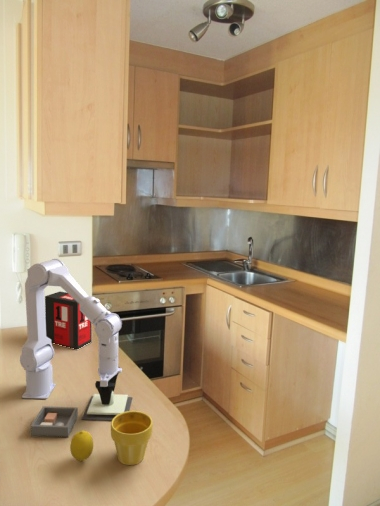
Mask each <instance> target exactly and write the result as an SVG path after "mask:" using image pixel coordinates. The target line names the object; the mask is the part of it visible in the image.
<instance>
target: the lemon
mask: <svg viewBox="0 0 380 506" xmlns="http://www.w3.org/2000/svg"><path fill="white" fill-rule="evenodd" d="M69 445H70V447H69V448H70V449H69V450H70V453H71V456H72V457H73V459H74V460H76V461H81V462H83V461H85V460H88V458H89V457H90V456H91V455H92V453H93V451H94V440H93V436H92V434H91V433H90V432H89V431H86V430H80V431H77V432H76V433H74V435H73V436H72V438H71V440H70V444H69Z"/></svg>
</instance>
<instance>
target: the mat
mask: <svg viewBox="0 0 380 506" xmlns="http://www.w3.org/2000/svg"><path fill="white" fill-rule="evenodd" d="M93 396H94V395H91V396H90V399H89V401H88V403H87V406H86V408H85V409H84V413H83V414H82V417H81V421H101V422H102V421H105V422H112V420H113V418H114V417H115V416H117V415H100V414H87V411H88V408H89V406H90V403H91V401H92V398H93ZM132 402H133V397H132V396H128V398H127V402H126V407H125V411H124V412H126V411H131V410H130V409H131V404H132Z"/></svg>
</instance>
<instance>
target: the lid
mask: <svg viewBox="0 0 380 506" xmlns="http://www.w3.org/2000/svg"><path fill="white" fill-rule="evenodd" d="M92 396H93V398H92V401H91V403H90V406H89V408H88V411H87V414H100V415H118V414H120V413H123V412H124V411H125V407H126V402H127V398H128V397H129V394H119V393H117V394H116V393H115V391H114V392H113V391H112V394H111V400H110V403H109V405H102V402H101V398H100V394H99V393H94V394H93V395H92Z"/></svg>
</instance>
